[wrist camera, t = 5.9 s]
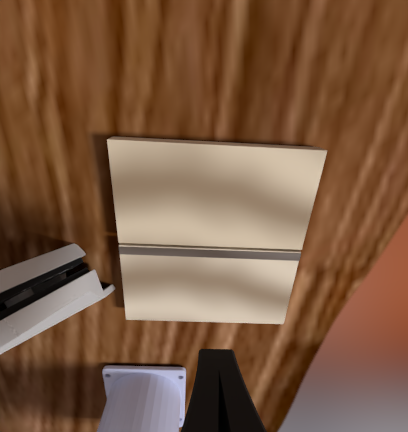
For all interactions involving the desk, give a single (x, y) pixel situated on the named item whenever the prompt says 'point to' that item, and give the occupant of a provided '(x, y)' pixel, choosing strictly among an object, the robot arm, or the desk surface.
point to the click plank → (213, 192)
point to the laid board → (207, 283)
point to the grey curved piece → (45, 294)
